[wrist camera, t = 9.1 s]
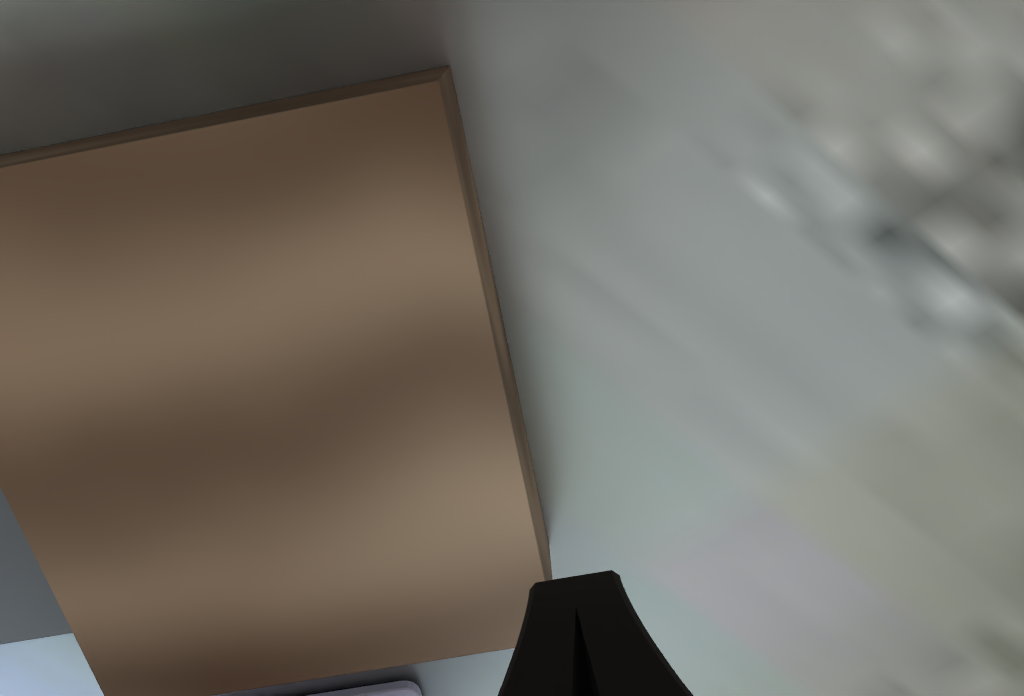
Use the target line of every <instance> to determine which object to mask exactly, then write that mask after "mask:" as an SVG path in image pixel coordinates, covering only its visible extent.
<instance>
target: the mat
mask: <svg viewBox="0 0 1024 696" xmlns="http://www.w3.org/2000/svg"><path fill="white" fill-rule="evenodd" d="M67 633H73V632H72V630H71V628H70V626H69V624H68V622H67V620H66V618H65V616H64V614H63V612H62V610H61V608H60V606H59V604H58V602H57V600H56V598H55V596H54V594H53V592H52V590H51V588H50V586H49V584H48V582H47V580H46V578H45V576H44V574H43V572H42V570H41V568H40V566H39V564H38V562H37V560H36V558H35V555H34V553H33V551H32V549H31V547H30V545H29V543H28V541H27V539H26V537H25V535H24V533H23V531H22V529H21V527H20V525H19V523H18V521H17V519H16V517H15V515H14V513H13V511H12V509H11V507H10V505H9V503H8V501H7V499H6V497H5V495H4V493H3V491H2V489H1V487H0V644H6V643H12V642H18V641H24V640H31V639H37V638H43V637H49V636H55V635H61V634H67Z"/></svg>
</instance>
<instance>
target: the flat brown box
mask: <svg viewBox="0 0 1024 696" xmlns="http://www.w3.org/2000/svg"><path fill="white" fill-rule="evenodd" d="M0 487H1V489H2V491H3V493H4V495H5V497H6V499H7V501H8V503H9V505H10V507H11V509H12V511H13V513H14V515H15V517H16V519H17V521H18V523H19V525H20V527H21V529H22V531H23V533H24V535H25V537H26V539H27V541H28V543H29V545H30V547H31V549H32V551H33V553H34V555H35V558H36V560H37V562H38V564H39V566H40V568H41V570H42V572H43V574H44V576H45V578H46V580H47V582H48V584H49V586H50V588H51V590H52V592H53V594H54V596H55V598H56V600H57V602H58V604H59V606H60V608H61V610H62V612H63V614H64V616H65V618H66V620H67V622H68V624H69V626H70V628H71V630H72V632H73V634H74V636H75V638H76V640H77V642H78V644H79V646H80V648H81V650H82V652H83V654H84V656H85V658H86V660H87V662H88V664H89V666H90V668H91V670H92V672H93V674H94V676H95V678H96V680H97V682H98V684H99V686H100V688H101V690H102V692H103V694H104V696H210V695H217V694H223V693H230V692H236V691H242V690H249V689H255V688H262V687H268V686H274V685H281V684H287V683H293V682H300V681H306V680H313V679H319V678H325V677H332V676H338V675H345V674H351V673H357V672H364V671H370V670H376V669H383V668H389V667H396V666H402V665H408V664H415V663H421V662H428V661H434V660H440V659H447V658H453V657H460V656H466V655H472V654H479V653H485V652H491V651H498V650H504V649H511V648H515V647H516V644H517V640H518V637H519V634H520V631H521V627H522V623H523V620H524V616H525V612H526V607H527V603H528V597H529V590H530V588H531V587H532V586H533V585H534V584H535V583H536V582H542V581H548V580H552V571H551V560H550V549H549V543H548V538H547V533H546V528H545V523H544V519H543V514H542V509H541V504H540V499H539V494H538V489H537V485H536V480H535V475H534V470H533V465H532V460H531V456H530V451H529V446H528V441H527V436H526V431H525V426H524V422H523V417H522V412H521V407H520V402H519V397H518V392H517V388H516V383H515V378H514V373H513V368H512V363H511V359H510V354H509V349H508V344H507V339H506V334H505V329H504V325H503V320H502V315H501V310H500V305H499V300H498V296H497V291H496V286H495V281H494V276H493V271H492V266H491V262H490V257H489V252H488V247H487V242H486V237H485V232H484V228H483V223H482V218H481V213H480V208H479V203H478V199H477V194H476V189H475V184H474V179H473V174H472V169H471V165H470V160H469V155H468V150H467V145H466V140H465V136H464V131H463V126H462V121H461V116H460V111H459V106H458V102H457V97H456V92H455V87H454V82H453V77H452V72H451V68H450V65H449V66H444V67H439V68H434V69H429V70H424V71H419V72H414V73H409V74H404V75H399V76H394V77H389V78H384V79H379V80H374V81H369V82H364V83H359V84H354V85H349V86H344V87H339V88H334V89H329V90H324V91H319V92H314V93H309V94H304V95H299V96H294V97H289V98H284V99H279V100H274V101H269V102H264V103H259V104H254V105H249V106H244V107H239V108H234V109H229V110H224V111H219V112H214V113H209V114H204V115H199V116H195V117H190V118H185V119H180V120H175V121H170V122H165V123H160V124H155V125H150V126H145V127H140V128H135V129H130V130H125V131H120V132H115V133H110V134H105V135H100V136H95V137H90V138H85V139H80V140H75V141H70V142H65V143H60V144H55V145H50V146H45V147H40V148H35V149H30V150H25V151H20V152H15V153H10V154H5V155H0Z"/></svg>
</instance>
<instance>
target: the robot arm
mask: <svg viewBox="0 0 1024 696" xmlns="http://www.w3.org/2000/svg"><path fill="white" fill-rule="evenodd" d="M306 696H422V694H421V690H420V689H419V687H418V685H416V684H415V683H413V682H410V681H396V682H390V683H384V684H377V685H371V686H364V687H358V688H351V689H345V690H338V691H332V692H326V693H319V694H313V695H306ZM498 696H693V695H692V693H691V692H690V691H689V690H688V688H687V687H686V686H685V684H684V683H683V682H682V681H681V679H680V678H679V677H678V675H677V674H676V673H675V671H674V670H673V669H672V667H671V666H670V664H669V663H668V662H667V660H666V659H665V657H664V656H663V654H662V653H661V651H660V650H659V648H658V647H657V646H656V644H655V643H654V641H653V640H652V638H651V637H650V635H649V633H648V632H647V630H646V629H645V627H644V625H643V624H642V622H641V620H640V618H639V617H638V615H637V613H636V612H635V610H634V608H633V606H632V604H631V602H630V600H629V598H628V596H627V594H626V592H625V589H624V587H623V585H622V582H621V579H620V575H618V574H617V573H615V572H614V571H612V570H610V571H604V572H598V573H592V574H585V575H579V576H573V577H567V578H561V579H554V580H548V581H542V582H536V583H535V584H534V585H533V586H532V587H531V588H530V590H529V597H528V603H527V607H526V612H525V616H524V620H523V623H522V627H521V631H520V634H519V637H518V640H517V644H516V647H515V650H514V653H513V656H512V658H511V661H510V664H509V667H508V670H507V672H506V675H505V678H504V681H503V683H502V686H501V689H500V691H499V693H498Z"/></svg>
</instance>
